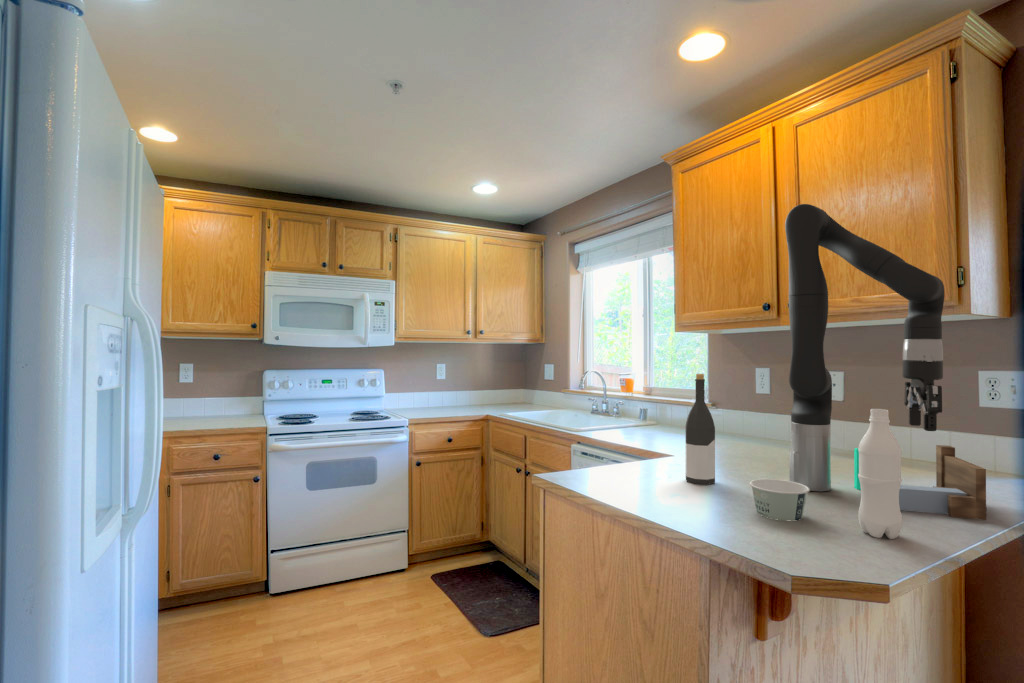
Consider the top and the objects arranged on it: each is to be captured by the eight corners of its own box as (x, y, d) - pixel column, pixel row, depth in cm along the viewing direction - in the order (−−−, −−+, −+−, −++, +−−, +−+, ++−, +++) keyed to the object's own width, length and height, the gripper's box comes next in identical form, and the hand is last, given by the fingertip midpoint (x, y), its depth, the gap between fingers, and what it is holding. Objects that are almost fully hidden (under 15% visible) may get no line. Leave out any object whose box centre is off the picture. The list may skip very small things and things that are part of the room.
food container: (737, 510, 122) (737, 481, 122) (775, 504, 127) (775, 476, 127) (783, 526, 111) (782, 495, 111) (822, 519, 116) (822, 489, 116)
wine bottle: (690, 476, 153) (689, 372, 153) (719, 480, 148) (718, 373, 149) (680, 482, 147) (680, 374, 147) (711, 487, 142) (710, 375, 142)
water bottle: (903, 543, 101) (903, 412, 101) (858, 536, 105) (858, 410, 105) (900, 532, 107) (899, 408, 107) (858, 526, 111) (857, 406, 111)
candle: (878, 487, 142) (878, 442, 142) (883, 493, 136) (883, 446, 136) (852, 485, 144) (852, 441, 144) (856, 490, 139) (856, 444, 139)
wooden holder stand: (951, 516, 117) (950, 458, 117) (917, 495, 134) (917, 444, 134) (989, 520, 115) (988, 460, 115) (949, 497, 132) (949, 445, 132)
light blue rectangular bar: (892, 509, 123) (892, 488, 123) (886, 504, 126) (886, 483, 126) (968, 515, 118) (968, 493, 118) (959, 510, 122) (959, 488, 122)
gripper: (892, 357, 132) (892, 423, 132) (915, 359, 118) (915, 431, 118) (928, 358, 129) (928, 424, 129) (956, 359, 116) (956, 433, 116)
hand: (922, 428), depth 124 cm, fingers open, 8 cm apart
